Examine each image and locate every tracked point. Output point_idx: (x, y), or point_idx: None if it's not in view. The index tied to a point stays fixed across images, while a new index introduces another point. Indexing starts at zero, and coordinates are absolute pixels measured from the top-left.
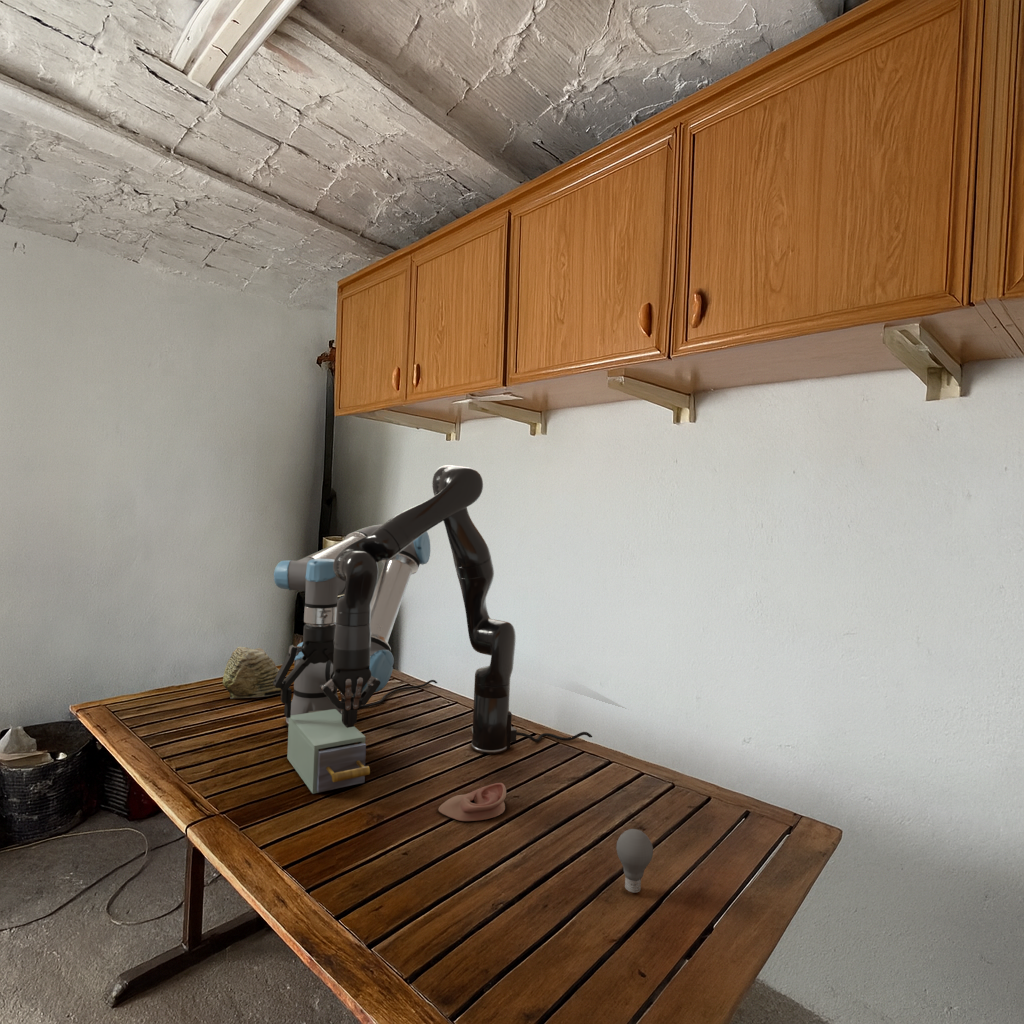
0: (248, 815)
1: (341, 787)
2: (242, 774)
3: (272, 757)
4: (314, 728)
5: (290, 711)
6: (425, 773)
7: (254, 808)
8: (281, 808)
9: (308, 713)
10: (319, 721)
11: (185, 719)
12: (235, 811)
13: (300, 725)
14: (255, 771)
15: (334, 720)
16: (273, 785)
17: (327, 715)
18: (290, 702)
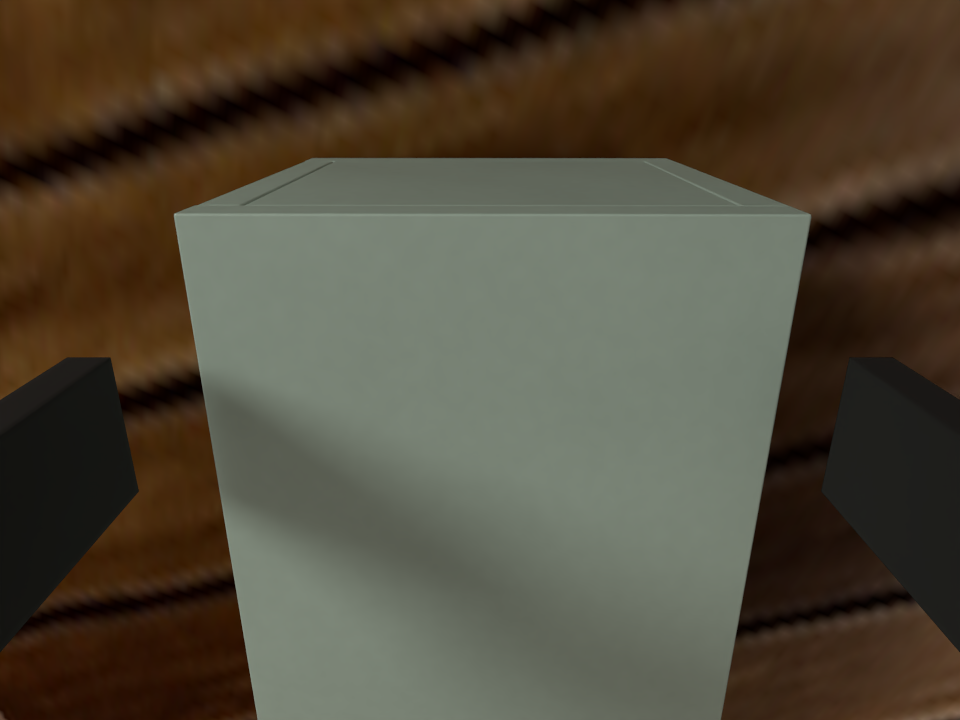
0: (62, 702)
1: None
2: (8, 279)
3: (212, 77)
4: (372, 675)
5: (95, 535)
6: (935, 694)
7: (87, 663)
8: (201, 707)
9: (428, 241)
10: (469, 540)
11: None
12: (5, 654)
13: (260, 564)
14: (88, 271)
15: (619, 574)
16: (185, 496)
17: (614, 410)
18: (8, 629)
